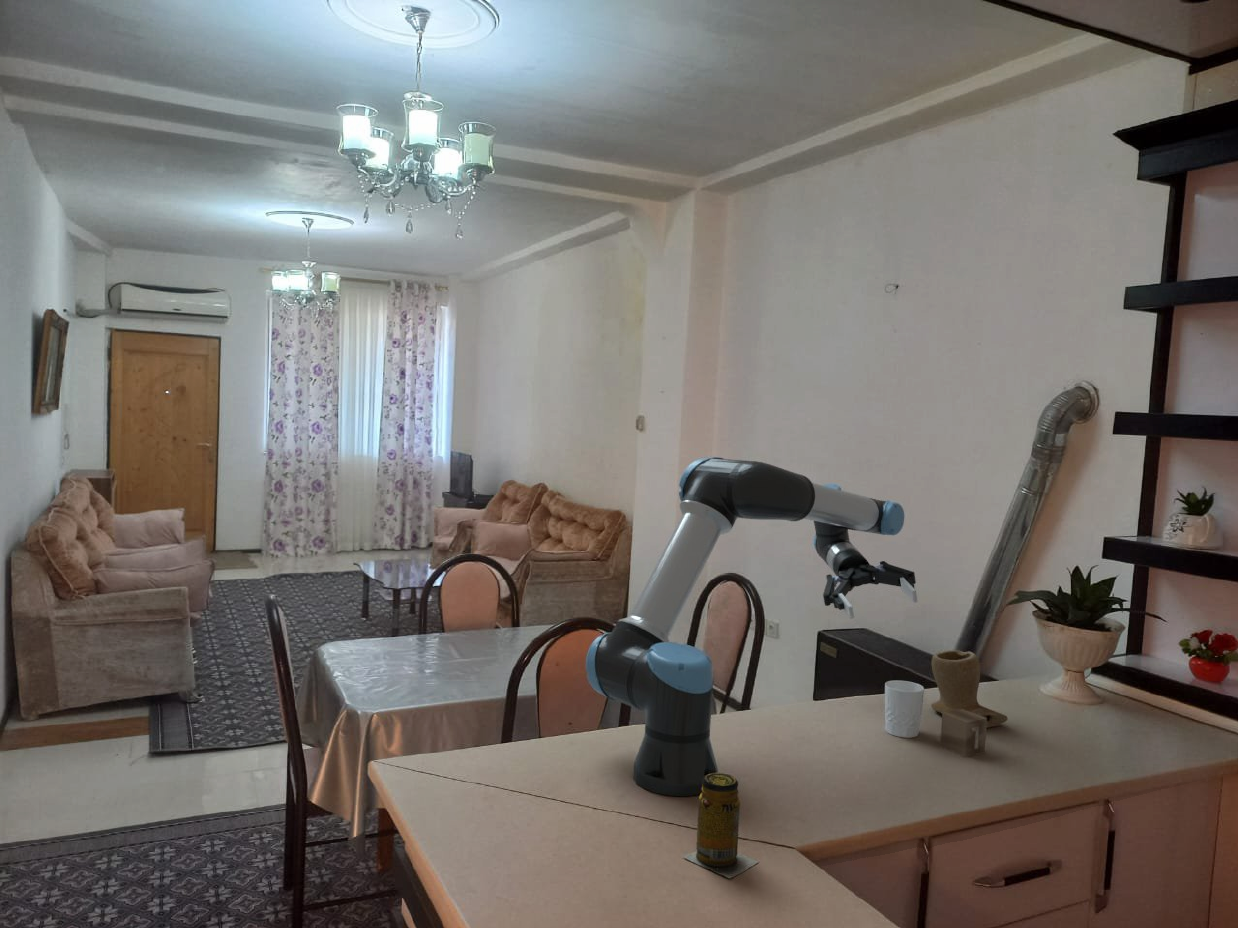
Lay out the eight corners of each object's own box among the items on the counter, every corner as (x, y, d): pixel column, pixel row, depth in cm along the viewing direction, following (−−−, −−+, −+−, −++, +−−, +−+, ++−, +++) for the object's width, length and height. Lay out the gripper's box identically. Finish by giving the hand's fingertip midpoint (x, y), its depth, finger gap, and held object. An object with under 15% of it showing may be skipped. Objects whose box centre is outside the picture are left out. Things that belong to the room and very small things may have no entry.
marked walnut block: (965, 757, 176) (967, 722, 175) (940, 746, 181) (942, 712, 181) (985, 752, 179) (988, 718, 178) (960, 742, 184) (962, 708, 184)
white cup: (882, 735, 186) (885, 688, 185) (882, 723, 193) (885, 678, 193) (922, 741, 183) (924, 693, 183) (920, 728, 191) (923, 682, 190)
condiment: (712, 842, 137) (716, 765, 136) (758, 862, 131) (762, 783, 130) (682, 858, 131) (686, 778, 130) (729, 880, 125) (733, 797, 125)
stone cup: (916, 711, 203) (920, 646, 202) (955, 705, 208) (959, 642, 207) (968, 733, 189) (972, 664, 188) (1008, 727, 194) (1013, 659, 193)
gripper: (902, 565, 205) (943, 605, 185) (798, 592, 205) (827, 635, 184) (898, 536, 203) (939, 573, 183) (793, 562, 202) (822, 603, 182)
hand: (883, 604), depth 183 cm, fingers open, 13 cm apart
